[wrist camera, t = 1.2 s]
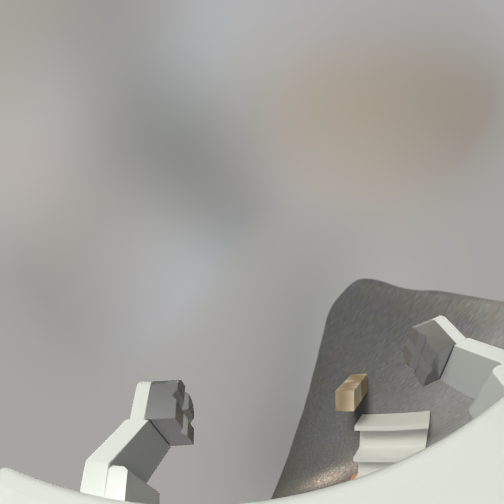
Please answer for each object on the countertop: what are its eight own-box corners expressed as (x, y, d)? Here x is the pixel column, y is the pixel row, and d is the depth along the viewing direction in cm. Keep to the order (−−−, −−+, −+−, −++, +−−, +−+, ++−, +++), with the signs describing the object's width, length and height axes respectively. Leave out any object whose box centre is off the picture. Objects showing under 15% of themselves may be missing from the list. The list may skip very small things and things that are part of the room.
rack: (429, 410, 35) (429, 423, 31) (415, 497, 31) (411, 511, 27) (355, 414, 43) (348, 425, 39) (351, 495, 39) (343, 509, 35)
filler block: (366, 373, 43) (353, 390, 36) (367, 391, 43) (354, 411, 36) (351, 374, 45) (335, 390, 38) (351, 391, 44) (335, 410, 37)
